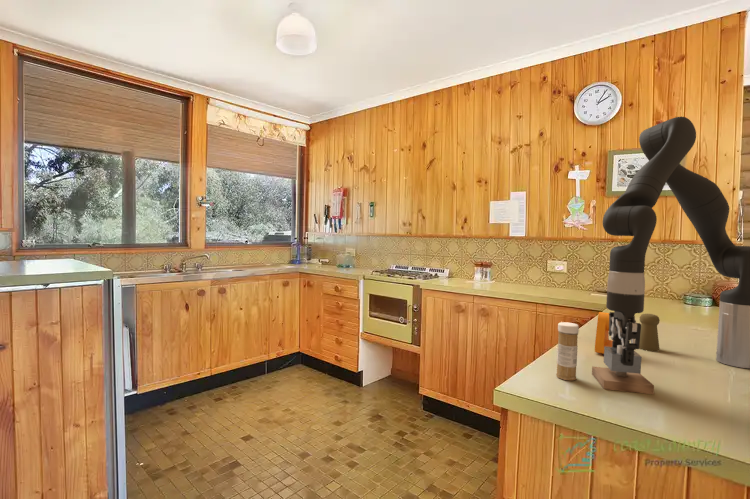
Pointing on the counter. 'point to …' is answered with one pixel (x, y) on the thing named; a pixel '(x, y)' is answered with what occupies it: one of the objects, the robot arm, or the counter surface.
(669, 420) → the counter surface
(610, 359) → the collar
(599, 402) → the counter surface
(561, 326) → the sprinkles bottle
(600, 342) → the bracket
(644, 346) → the olive pawn shape
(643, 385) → the wooden peg stand
